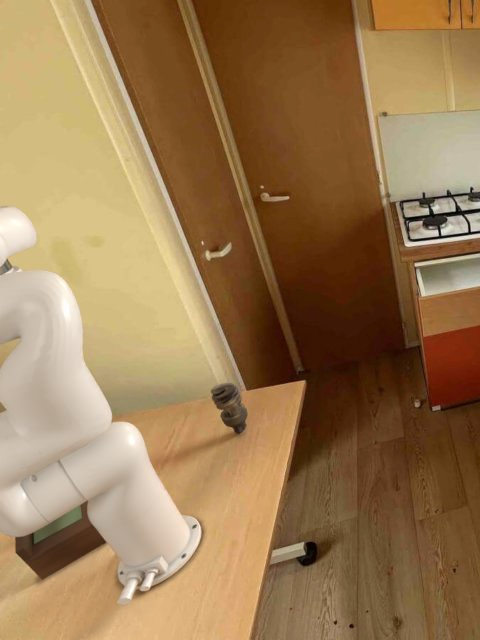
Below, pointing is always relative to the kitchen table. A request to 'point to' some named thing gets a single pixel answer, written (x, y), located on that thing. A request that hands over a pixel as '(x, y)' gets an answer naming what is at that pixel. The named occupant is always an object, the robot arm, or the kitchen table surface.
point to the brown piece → (59, 542)
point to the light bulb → (230, 406)
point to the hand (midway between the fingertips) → (28, 340)
